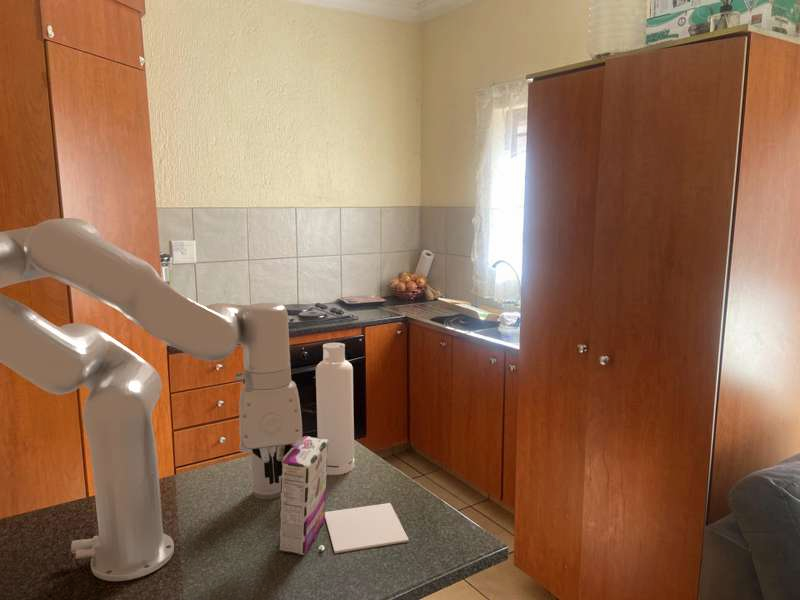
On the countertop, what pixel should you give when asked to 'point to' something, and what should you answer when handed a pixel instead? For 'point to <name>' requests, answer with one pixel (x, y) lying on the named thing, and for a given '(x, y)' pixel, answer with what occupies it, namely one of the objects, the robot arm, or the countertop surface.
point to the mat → (364, 527)
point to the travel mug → (264, 479)
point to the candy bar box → (303, 495)
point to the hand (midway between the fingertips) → (273, 480)
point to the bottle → (336, 407)
